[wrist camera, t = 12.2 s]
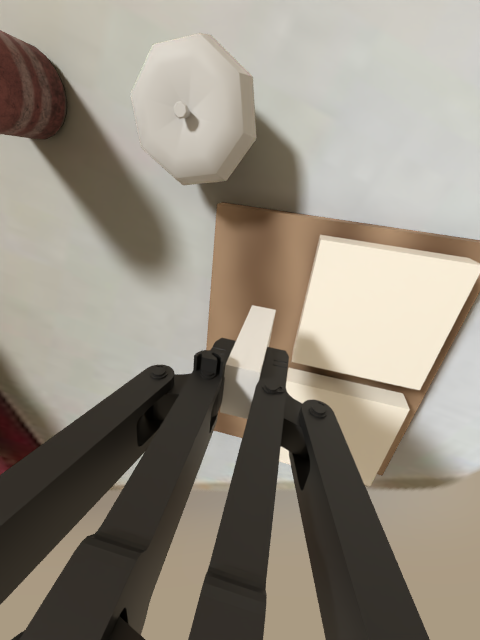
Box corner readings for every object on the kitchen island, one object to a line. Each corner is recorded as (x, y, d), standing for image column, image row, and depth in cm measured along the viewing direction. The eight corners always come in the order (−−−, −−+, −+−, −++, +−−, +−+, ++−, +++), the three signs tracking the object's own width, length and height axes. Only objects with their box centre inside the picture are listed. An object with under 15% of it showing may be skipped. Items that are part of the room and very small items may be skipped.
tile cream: (291, 361, 24) (419, 390, 23) (320, 239, 19) (483, 265, 18) (293, 346, 26) (410, 371, 25) (320, 233, 22) (465, 256, 20)
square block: (268, 458, 29) (370, 486, 28) (286, 380, 25) (409, 409, 23) (271, 439, 32) (366, 464, 30) (288, 364, 27) (401, 389, 26)
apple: (285, 80, 19) (274, 38, 14) (249, 200, 23) (228, 207, 17) (175, 44, 20) (119, -12, 14) (157, 168, 24) (107, 164, 18)
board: (204, 417, 35) (200, 426, 33) (222, 202, 24) (217, 203, 22) (379, 463, 32) (382, 475, 30) (491, 242, 21) (503, 246, 19)
